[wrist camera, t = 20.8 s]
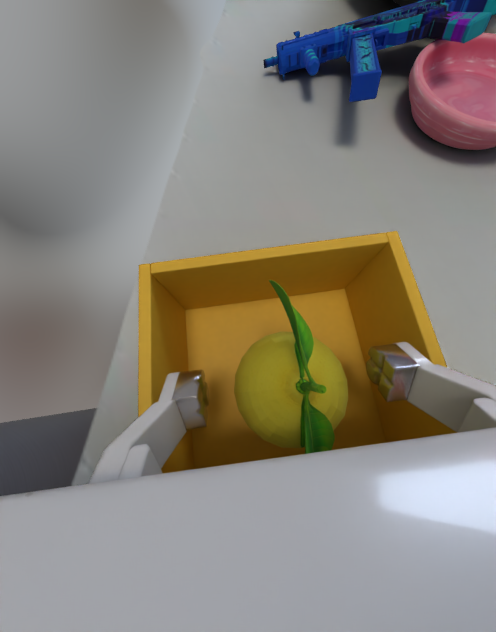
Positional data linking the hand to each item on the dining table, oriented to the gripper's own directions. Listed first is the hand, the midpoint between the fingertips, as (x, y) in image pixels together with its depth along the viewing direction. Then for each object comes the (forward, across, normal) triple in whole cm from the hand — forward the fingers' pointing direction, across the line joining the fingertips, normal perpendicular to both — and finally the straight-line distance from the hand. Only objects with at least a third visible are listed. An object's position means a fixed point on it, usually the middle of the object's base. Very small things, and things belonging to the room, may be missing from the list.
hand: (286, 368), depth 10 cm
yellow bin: (+4, 0, +5) cm, 6 cm away
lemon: (+4, 0, +4) cm, 6 cm away
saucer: (+20, -22, -11) cm, 31 cm away
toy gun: (+13, -17, -13) cm, 26 cm away
